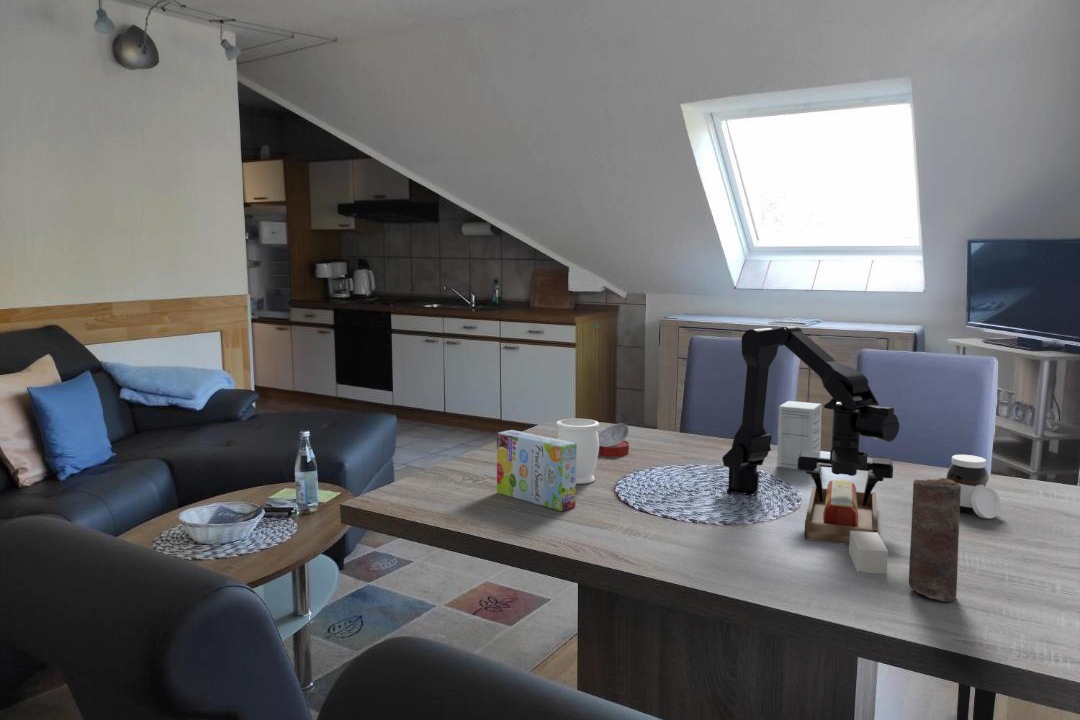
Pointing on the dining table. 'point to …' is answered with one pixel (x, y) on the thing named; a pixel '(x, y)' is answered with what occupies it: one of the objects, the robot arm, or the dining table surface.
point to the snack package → (841, 504)
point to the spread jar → (974, 486)
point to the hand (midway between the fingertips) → (842, 503)
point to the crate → (838, 533)
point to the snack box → (537, 469)
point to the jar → (582, 445)
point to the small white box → (868, 552)
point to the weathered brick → (935, 538)
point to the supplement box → (798, 432)
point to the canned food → (614, 441)
